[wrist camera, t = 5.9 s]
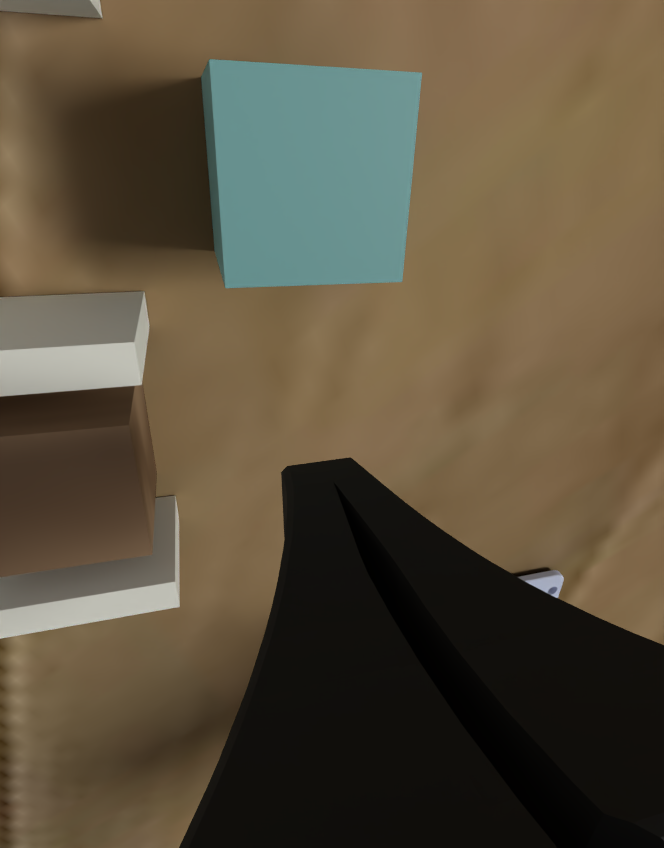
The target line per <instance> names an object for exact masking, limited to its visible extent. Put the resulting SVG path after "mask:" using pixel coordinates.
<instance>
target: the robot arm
mask: <svg viewBox="0 0 664 848" xmlns="http://www.w3.org/2000/svg"><path fill="white" fill-rule="evenodd" d="M281 475H282V496H283V516H284V537H285V541H284V549H283V554H282V560H281V566H280V571H279V577H278V582H277V587H276V591H275V596H274V600H273V604H272V608H271V612H270V616H269V620H268V623H267V627H266V631H265V634H264V637H263V641H262V644H261V647H260V650H259V653H258V656H257V660H256V663H255V666H254V669H253V672H252V675H251V678H250V681H249V684H248V687H247V690H246V692H245V695H244V698H243V701H242V703H241V706H240V708H239V711H238V713H237V716H236V718H235V721H234V723H233V726H232V728H231V731H230V733H229V736H228V739H227V741H226V744H225V746H224V749H223V751H222V754H221V756H220V759H219V761H218V764H217V766H216V768H215V771H214V773H213V775H212V778H211V780H210V782H209V784H208V787H207V789H206V791H205V793H204V795H203V797H202V800H201V802H200V804H199V806H198V808H197V810H196V813H195V815H194V817H193V819H192V821H191V823H190V826H189V828H188V830H187V832H186V834H185V836H184V839H183V841H182V843H181V845H180V847H179V848H664V645H662V644H659V643H657V642H654V641H652V640H649V639H647V638H644V637H642V636H639V635H637V634H634V633H632V632H630V631H627V630H625V629H623V628H620V627H618V626H616V625H614V624H611V623H609V622H607V621H604V620H602V619H600V618H598V617H595V616H593V615H591V614H589V613H587V612H585V611H583V610H581V609H579V608H577V607H575V606H573V605H570V604H568V603H566V602H564V601H562V600H560V599H558V595H559V592H560V590H561V587H562V584H563V580H564V578H563V576H562V575H561V573H560V572H559V571H557V570H551V571H546V572H541V573H535V574H530V575H525V576H520V577H516V576H515V575H513V574H511V573H509V572H508V571H506V570H504V569H502V568H501V567H499V566H497V565H496V564H494V563H492V562H490V561H489V560H487V559H485V558H484V557H482V556H481V555H479V554H477V553H476V552H474V551H473V550H471V549H470V548H468V547H467V546H465V545H464V544H462V543H461V542H459V541H458V540H456V539H455V538H453V537H452V536H450V535H449V534H447V533H446V532H444V531H443V530H441V529H440V528H439V527H437V526H436V525H435V524H433V523H432V522H430V521H429V520H428V519H426V518H425V517H424V516H422V515H421V514H420V513H418V512H417V511H416V510H414V509H413V508H412V507H410V506H409V505H408V504H407V503H405V502H404V501H403V500H402V499H400V498H399V497H398V496H397V495H395V494H394V493H393V492H392V491H390V490H389V489H388V488H387V487H386V486H384V485H383V484H382V483H381V482H380V481H378V480H377V479H376V478H375V477H374V476H372V475H371V474H370V473H369V472H368V471H366V470H365V469H364V468H363V467H362V466H360V465H359V464H358V463H357V462H356V461H354V460H353V459H352V458H351V457H350V458H343V459H336V460H329V461H321V462H314V463H307V464H299V465H292V466H287V467H286V468H285V469H284V470H283V471H282V472H281Z"/></svg>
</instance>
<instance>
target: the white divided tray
mask: <svg viewBox="0 0 664 848" xmlns="http://www.w3.org/2000/svg"><path fill="white" fill-rule="evenodd" d="M0 11H8V12H22V13H36V14H50V15H64V16H78V17H92V18H102V12H101V6H100V0H0ZM149 327H150V326H149V319H148V313H147V306H146V300H145V293H144V291H139V292H115V293H91V294H67V295H43V296H19V297H0V397H1V396H13V395H25V394H38V393H50V392H62V391H75V390H87V389H99V388H112V387H124V386H136V385H142V379H143V371H144V364H145V356H146V349H147V341H148V334H149ZM176 607H179V515H178V509H177V502H176V496H167V497H159V498H155V516H154V535H153V554H152V555H148V556H141V557H134V558H128V559H121V560H114V561H107V562H101V563H94V564H87V565H80V566H73V567H67V568H60V569H53V570H46V571H40V572H33V573H26V574H19V575H12V576H6V577H0V638H6V637H12V636H17V635H23V634H29V633H34V632H40V631H46V630H51V629H57V628H62V627H68V626H74V625H79V624H85V623H91V622H96V621H102V620H108V619H113V618H119V617H125V616H130V615H136V614H142V613H147V612H153V611H159V610H164V609H170V608H176Z"/></svg>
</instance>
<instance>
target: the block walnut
mask: <svg viewBox="0 0 664 848" xmlns="http://www.w3.org/2000/svg"><path fill="white" fill-rule="evenodd" d="M156 479H157V471H156V464H155V458H154V452H153V446H152V439H151V433H150V427H149V421H148V414H147V408H146V402H145V396H144V389H143V383H142V385H136V386H124V387H112V388H99V389H87V390H75V391H62V392H50V393H38V394H25V395H13V396H1V397H0V577H6V576H12V575H19V574H26V573H33V572H40V571H46V570H53V569H60V568H67V567H73V566H80V565H87V564H94V563H101V562H107V561H114V560H121V559H128V558H134V557H141V556H148V555H152V554H153V535H154V516H155V498H156Z"/></svg>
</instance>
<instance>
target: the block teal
mask: <svg viewBox="0 0 664 848" xmlns="http://www.w3.org/2000/svg"><path fill="white" fill-rule="evenodd" d="M421 77H422V73H417V72H402V71H386V70H370V69H355V68H339V67H323V66H308V65H292V64H276V63H260V62H245V61H229V60H213V59H209V61H208V63H207V65H206V68H205V70H204V72H203V74H202V76H201V83H202V96H203V108H204V121H205V134H206V147H207V160H208V173H209V186H210V199H211V212H212V225H213V237H214V250H215V254H216V258H217V261H218V265H219V268H220V271H221V275H222V278H223V282H224V285H225V288H242V287H270V286H299V285H327V284H355V283H383V282H402V278H403V267H404V257H405V246H406V235H407V225H408V214H409V204H410V193H411V183H412V172H413V162H414V151H415V141H416V130H417V120H418V109H419V98H420V88H421Z"/></svg>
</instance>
